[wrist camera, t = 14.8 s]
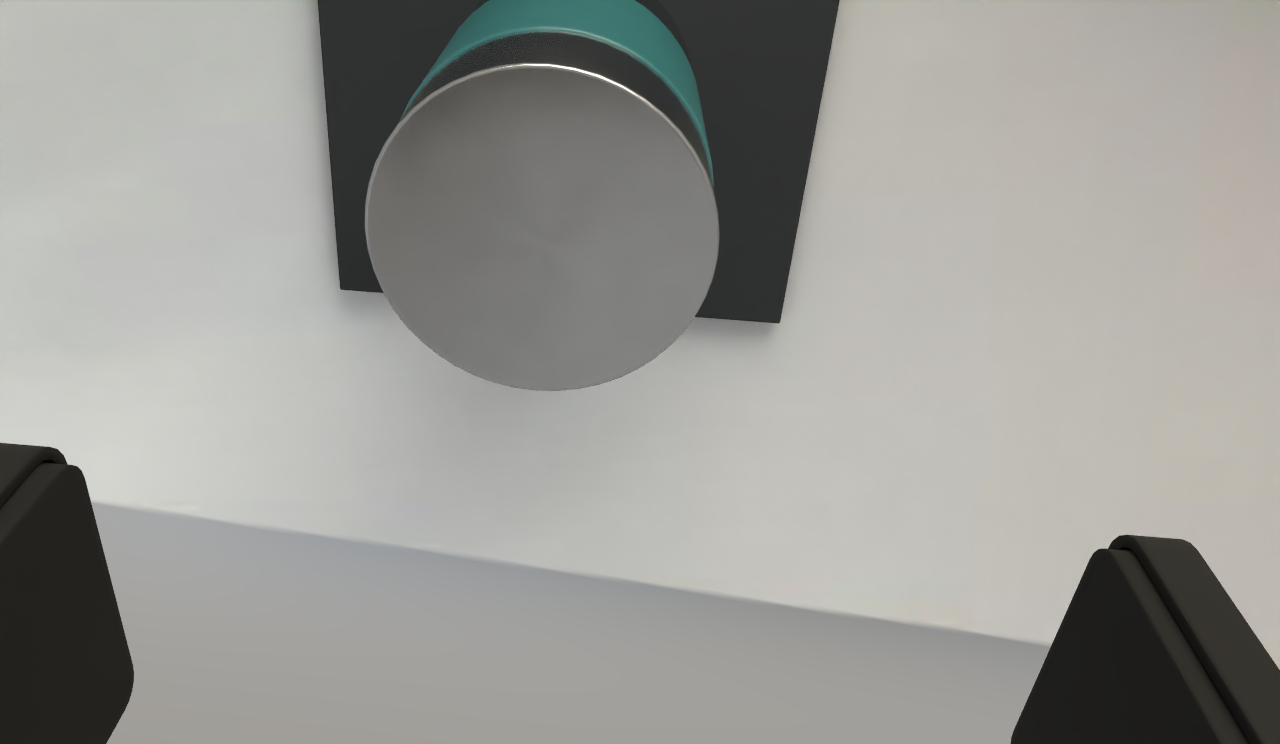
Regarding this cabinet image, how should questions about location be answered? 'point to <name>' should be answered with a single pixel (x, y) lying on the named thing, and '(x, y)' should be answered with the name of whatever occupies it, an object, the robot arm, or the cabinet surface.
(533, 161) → the can
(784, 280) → the mat
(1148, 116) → the cabinet surface
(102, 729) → the robot arm
